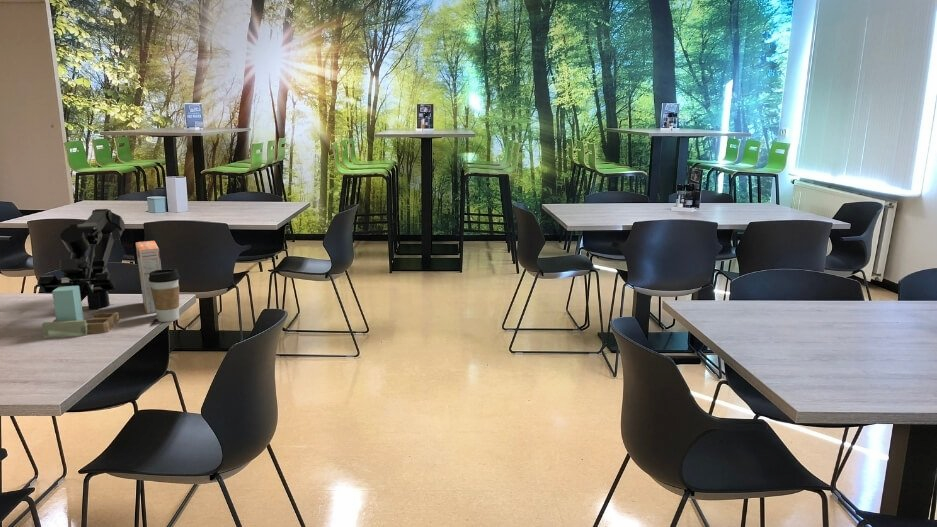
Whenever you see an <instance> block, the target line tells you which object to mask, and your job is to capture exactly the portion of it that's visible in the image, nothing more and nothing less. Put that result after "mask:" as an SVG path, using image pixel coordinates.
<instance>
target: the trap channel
mask: <svg viewBox="0 0 937 527" xmlns="http://www.w3.org/2000/svg"><path fill="white" fill-rule="evenodd" d="M119 322H120V317H119V311H118V312H104V313H102V311H96V312H95V313H94V314H93V317H89V318H88V320H86V319H84V320H77V321H60V322H57V321H56V318H55V319H54V320H52V321H47V322H46V321H45V322H43V323H42V324H41V327H42V334H43V339H50V338H51V339H53V338H64V337H65V338H66V337H80V336H81V337H82V336H88V334H97V333H98V334H99V333H109V332H110V331H111V330H112V329H113V328H114V327H115V326H116V325H117V324H118V323H119Z"/></svg>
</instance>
